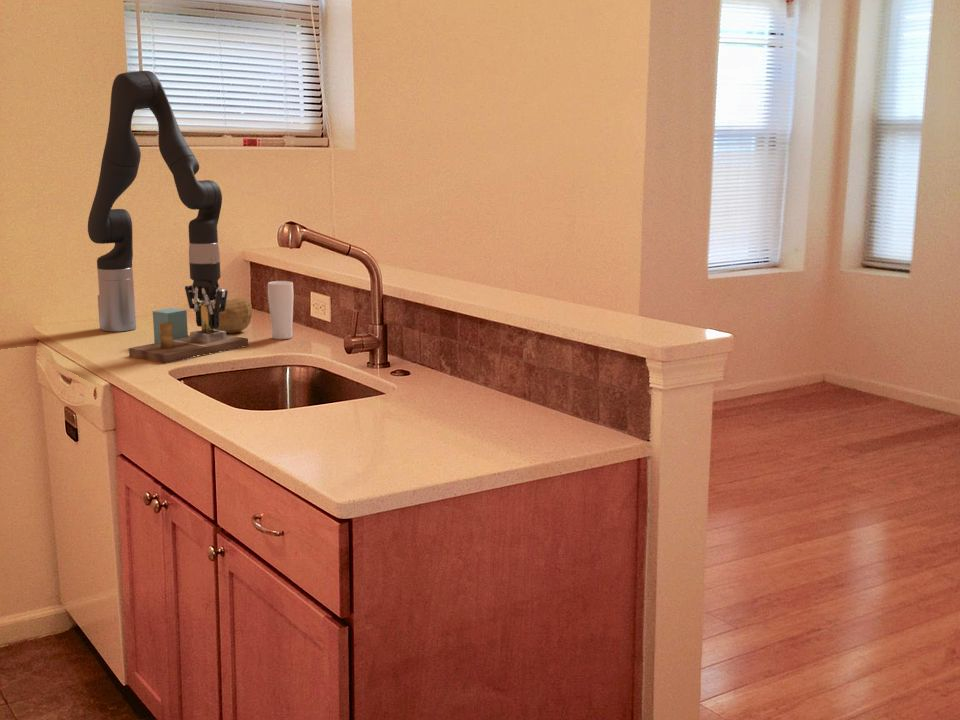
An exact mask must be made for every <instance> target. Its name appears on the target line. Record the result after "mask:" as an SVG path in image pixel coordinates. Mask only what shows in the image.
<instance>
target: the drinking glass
mask: <svg viewBox="0 0 960 720" xmlns="http://www.w3.org/2000/svg"><path fill="white" fill-rule="evenodd" d="M294 293H295V292H294V283H293V281H289V280H276V281H268V282H267V301H268V310H269V317H270V325H271V337H272V338H273V339H274V340H289V339H291V338H292V337H293V322H294V321H293V319H294V300H295V298H294V297H295V296H294Z"/></svg>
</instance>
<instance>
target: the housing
mask: <svg viewBox="0 0 960 720" xmlns="http://www.w3.org/2000/svg"><path fill="white" fill-rule="evenodd" d="M187 313H188V312H187V310H186V309H180V308H173V307H171V308H169V307H168V308H163V309H158V310H153V311H152V321H153V334H154V335H153V337H154V339H153V340H154V343H159V342H160V325H159V324H160V323H172V330H173V340H175V339H180V338H185V337H189V336H188V335H189V333H188V330H189V329H188V314H187Z"/></svg>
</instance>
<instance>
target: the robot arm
mask: <svg viewBox="0 0 960 720" xmlns="http://www.w3.org/2000/svg"><path fill="white" fill-rule="evenodd" d="M110 94H111V95H110V106H109V121H108V127H107V132H106V140H105V145H104V148H103V153H102V158H101V163H100V164H101V165H100V170H99V171H100V172H99V176H98V178H99V179H98V182H97V186H96V187H97V188H96V191H95V195H94V198H93V201H92V204H91V208H90V211H89V215H88V220H87V234H88V237H89V240H90V241H92V242H93V243H95V244H98V245H99V244H100V245H101V244H102V245H103V244H114V247H112V249H111V250H110V251H109V252H106V253H105V254H103V255H101V256H99V257H97V260H96V269H97V270H96V271H97V280H98V281H97V283H98V295H97V307H98V309H97V310H98V319H99V329H101V331H104V332H127V331H133V330H136V329H137V319H136V317H137V316H136V300H135V286H134V273H133V272H134V271H133V257H134V250H133V249H134V248H133V245H134V244H133V243H134V242H133V238H134V237H133V234H134V233H133V231H134V230H133V221H132V218H131V214H130V212H129V211H128V210H126V209H124V208H113V206H114V204H115V202H116V201H117V200H118V199H119V197H121V195H122V194H123V193H125V191H126V190H127V189H129V187H130V186H131V185H132V184H133V183H134V181H135V179H136V178H137V176H138V173H139V172H138V171H139V167H140V163H141V162H140V161H141V158H142V157H141V155H142V154H141V149H140V148H141V147H140V146H139V142H138V141H137V139H136V137H135V135H134V133H133V131H132V120H133V116H134V112H135V111H136V110H143V109H149V110H150V111H151V112H152V114H153V116H154V117H155V119H156V122H157V127H158V136H157V137H158V142H157V143H158V148H159V153H160V156H161V157H162V159H163V161H164V162H165V164H166V166H167V167H168V169H169V171H170V172H171V174H172V177H173V181H174V185H175V188H176V191H177V195H178V198H179V199H180V202H181V203H182V204H183V205H184V206H185V207H187V208H188V209H190V210H198V213H197V216H196V217H195V218H193V219H192V220H190V221H189V223H188V242H189V243H188V244H189V246H188V265H189V278H190V280H191V281H193V282H192V284H190V285H185V286H184V290H185V294H186V299H187V303H188V307H189V309H190V310H193V311H194V312H195V323H196V327H201V304H206V305H207V306H208V307H209V311H210V328H211V329H215V328H218V327H219V313H220V312H223V311H225V306H226V300H228V299H227V298H228V290H227V288H225V289H222V288H220V283H219V282H218V281H219V280H220V279H221V259H220V248H219V239H218V237H219V235H218V223H219V220H220V216H221V215H220V214H221V210H222V203H223V194H222V190H221V187H220V186H219V185H218V183H217V182H216V181H214V180H210V179H208V180H207V179H205V180H204V179H203V180H197V178H196V176H195V175H196V174H197V173H198V172H199V170H200V164H199V162H198V159H197V158H196V156H195V154H194V152H193V151H192V149H191V148H190V145H188V142H187V140H185V138H184V137H185V136H184V135H183V133H182V131H181V129H180V127H179V123H178V122H177V119H176V117H175V114H174V111H173V109H172V106H171V103H170V101H169V99H168V96H167V93H166V91H165V89H164V87H163V85H162V83H161V81H160V79H159V78H158V76H157V75H156V74H155V73H154V72H152V71H150V70H138V71H129V72H122V73H120V74H117V75H116V76H115V78H114V80H113V82H112V85H111V92H110ZM112 208H113V209H112ZM220 304H221V307H220ZM213 305H214V306H215V308H214V309H213Z"/></svg>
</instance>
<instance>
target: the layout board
mask: <svg viewBox="0 0 960 720" xmlns="http://www.w3.org/2000/svg"><path fill="white" fill-rule="evenodd" d="M159 325H160V342H159V343H155V342H154V343H149V344H145V345H139V346H133V347H129V348H128V352H129V353H128V354H129V357H132V358H136V359H137V358H138V359H143V360H146V361H147V360H148V361H154V362H158V363H164V364H169V363H174V362H179V361H183V359H184V360H188V359H187V358H189V359H191V358H190V357H193V356H197V355H203V354H208V355H210V354H209V353H213V354H216V353H215V352H218V353H220V352H219V351H223V352H225V351H224V350H227V351H229V350H228V349H232V350H234V349H233V348H237V349H239V348H238V347H242V346H247V345H248V346H249V338H247V337H240V336H235V335H229V334H227V333H226V331H220V330H214V333H211V334H203V333H202V329H200V330H194V331H190V332H189V336H188V337H185V338H180V339H175V340H173V330H172V323H160V324H159ZM248 346H247V347H248ZM242 348H243V347H242ZM203 356H204V355H203Z"/></svg>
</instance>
